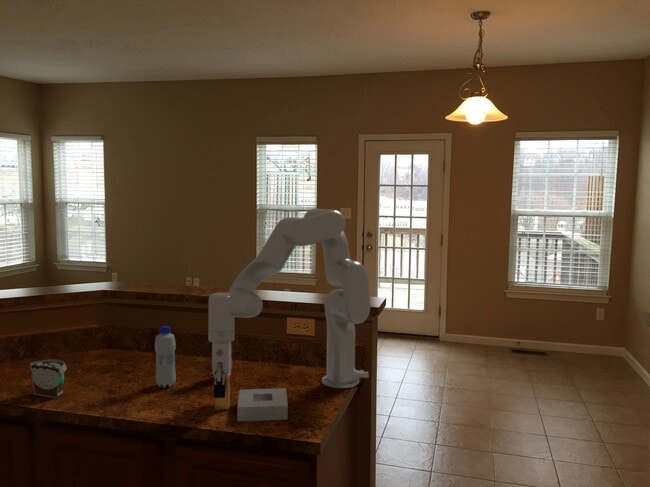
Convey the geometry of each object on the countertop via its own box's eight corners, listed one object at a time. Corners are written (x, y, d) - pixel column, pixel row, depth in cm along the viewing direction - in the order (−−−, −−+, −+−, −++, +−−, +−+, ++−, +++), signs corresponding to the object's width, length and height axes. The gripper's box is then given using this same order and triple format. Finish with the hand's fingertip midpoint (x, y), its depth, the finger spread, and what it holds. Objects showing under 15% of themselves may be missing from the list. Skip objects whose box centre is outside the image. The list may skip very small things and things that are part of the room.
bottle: (157, 382, 183) (156, 323, 181) (178, 381, 183) (177, 323, 181) (153, 389, 176) (152, 328, 174) (174, 388, 176) (173, 328, 175)
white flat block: (285, 400, 167) (285, 388, 167) (287, 419, 153) (287, 405, 153) (239, 402, 165) (239, 389, 165) (237, 421, 152) (237, 407, 151)
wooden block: (229, 404, 164) (229, 375, 163) (228, 409, 160) (228, 379, 159) (216, 404, 164) (215, 375, 163) (215, 409, 160) (214, 379, 159)
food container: (76, 392, 173) (75, 361, 172) (61, 398, 167) (60, 367, 166) (46, 387, 177) (45, 357, 176) (30, 393, 171) (29, 362, 170)
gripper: (232, 342, 152) (231, 402, 153) (235, 328, 169) (235, 381, 170) (205, 342, 151) (204, 402, 152) (211, 328, 168) (211, 382, 169)
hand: (220, 391), depth 161 cm, fingers open, 9 cm apart
